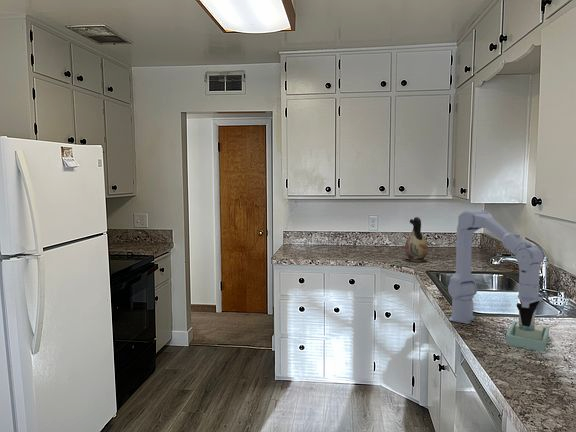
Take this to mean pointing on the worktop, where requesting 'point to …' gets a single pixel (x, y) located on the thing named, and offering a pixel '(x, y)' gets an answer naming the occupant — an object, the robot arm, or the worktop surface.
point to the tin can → (526, 328)
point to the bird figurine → (416, 243)
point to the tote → (526, 339)
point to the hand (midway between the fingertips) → (527, 323)
